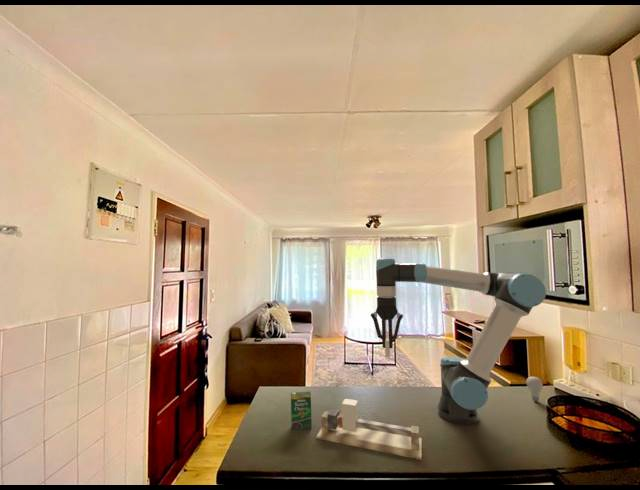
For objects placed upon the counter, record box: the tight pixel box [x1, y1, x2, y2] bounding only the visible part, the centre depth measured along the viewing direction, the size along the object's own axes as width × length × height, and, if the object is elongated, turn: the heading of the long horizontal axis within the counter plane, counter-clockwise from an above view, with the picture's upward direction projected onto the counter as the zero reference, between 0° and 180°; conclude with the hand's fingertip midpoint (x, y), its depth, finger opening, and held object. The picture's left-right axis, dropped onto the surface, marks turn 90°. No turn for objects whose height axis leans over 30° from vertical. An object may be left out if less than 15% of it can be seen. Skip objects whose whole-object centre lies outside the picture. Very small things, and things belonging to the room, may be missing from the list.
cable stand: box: [316, 408, 423, 461], centre depth 105 cm, size 36×11×7 cm, turn 70°
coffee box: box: [290, 391, 313, 431], centre depth 113 cm, size 8×3×13 cm, turn 93°
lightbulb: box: [525, 376, 544, 402], centre depth 133 cm, size 6×6×11 cm
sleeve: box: [341, 398, 359, 432], centre depth 107 cm, size 5×4×9 cm
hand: (387, 356), depth 116 cm, fingers closed
